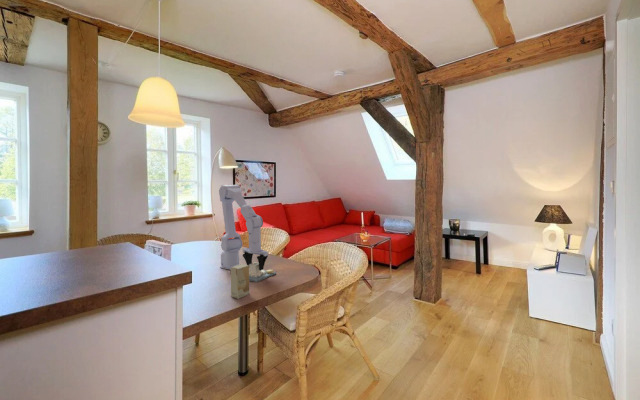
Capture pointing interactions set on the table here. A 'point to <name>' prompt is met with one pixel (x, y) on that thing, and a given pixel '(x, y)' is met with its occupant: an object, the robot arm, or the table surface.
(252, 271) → the gear
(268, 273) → the carrier plate
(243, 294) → the skincare box
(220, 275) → the table surface
